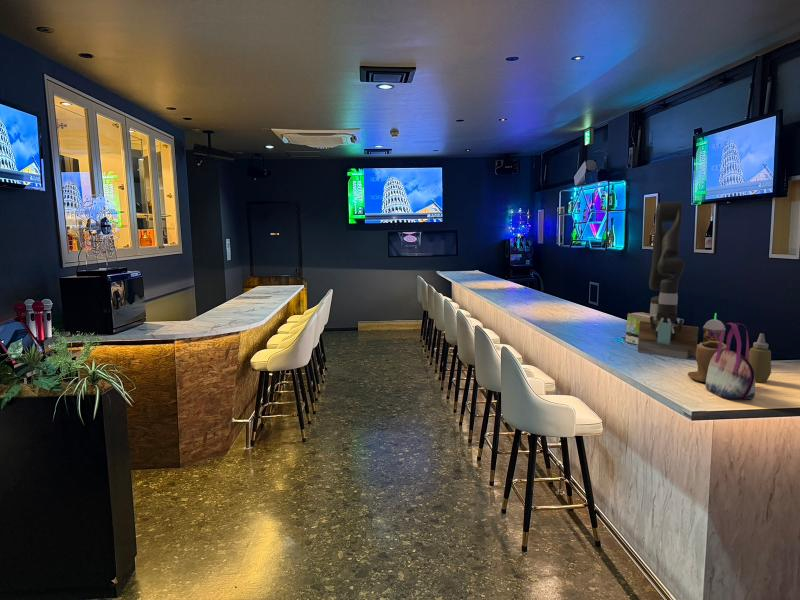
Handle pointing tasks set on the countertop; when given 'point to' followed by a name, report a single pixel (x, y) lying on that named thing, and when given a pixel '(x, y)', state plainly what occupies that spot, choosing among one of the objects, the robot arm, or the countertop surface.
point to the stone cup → (704, 359)
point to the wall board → (679, 348)
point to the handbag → (731, 370)
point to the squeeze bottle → (760, 359)
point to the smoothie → (713, 330)
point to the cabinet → (664, 333)
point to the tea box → (636, 325)
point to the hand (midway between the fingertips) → (664, 339)
